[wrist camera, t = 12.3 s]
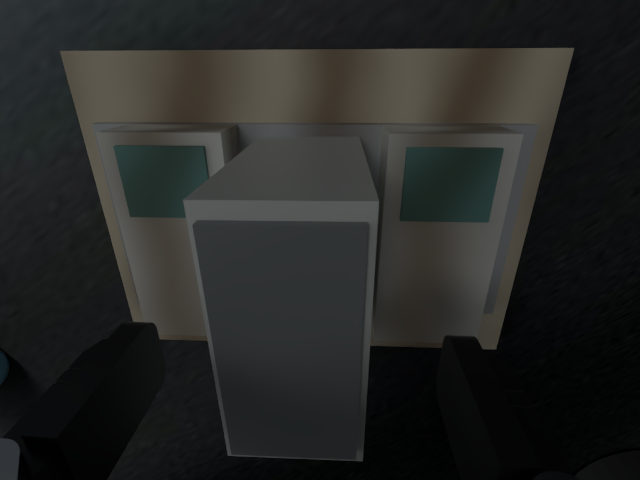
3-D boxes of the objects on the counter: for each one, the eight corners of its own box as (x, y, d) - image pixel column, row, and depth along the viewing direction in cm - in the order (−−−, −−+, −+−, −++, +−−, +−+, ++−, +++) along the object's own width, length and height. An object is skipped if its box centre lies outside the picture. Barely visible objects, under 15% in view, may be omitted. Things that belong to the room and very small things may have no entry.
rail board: (561, 49, 16) (633, 42, 12) (489, 338, 23) (521, 393, 19) (74, 52, 17) (-5, 46, 13) (145, 328, 24) (107, 378, 20)
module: (359, 136, 16) (380, 205, 8) (353, 303, 20) (363, 470, 12) (260, 136, 16) (177, 204, 8) (272, 301, 20) (225, 464, 12)
